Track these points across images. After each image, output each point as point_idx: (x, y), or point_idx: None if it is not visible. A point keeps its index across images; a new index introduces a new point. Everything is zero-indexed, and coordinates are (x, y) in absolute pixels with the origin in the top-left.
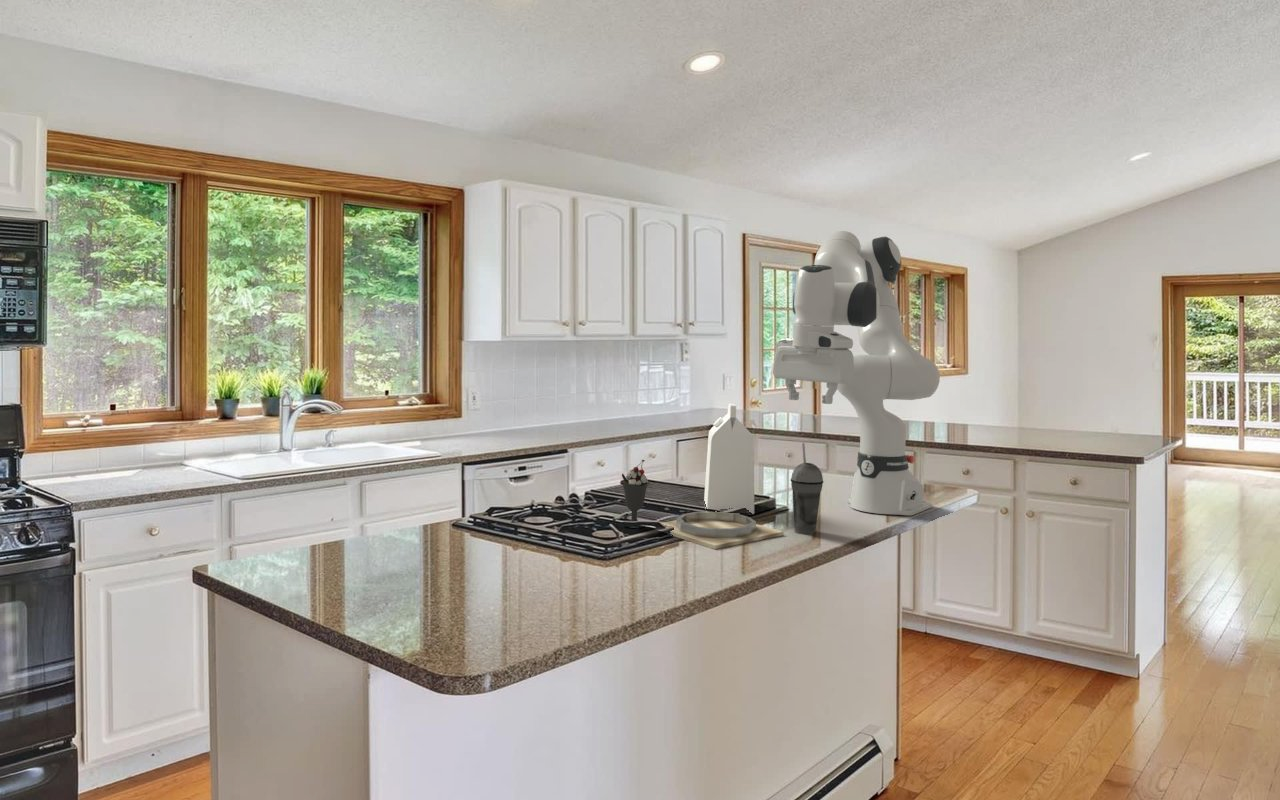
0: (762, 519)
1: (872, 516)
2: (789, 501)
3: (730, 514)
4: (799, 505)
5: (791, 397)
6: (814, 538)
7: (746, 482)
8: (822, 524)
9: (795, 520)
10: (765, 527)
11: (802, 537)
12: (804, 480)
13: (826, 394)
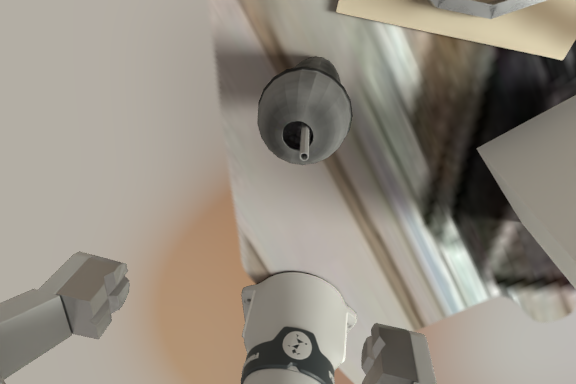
0: (439, 114)
1: (282, 259)
2: (447, 276)
3: (503, 1)
4: (311, 63)
5: (401, 339)
6: (272, 40)
7: (530, 174)
8: None
9: (327, 62)
10: (389, 15)
11: (295, 27)
12: (287, 74)
13: (40, 300)
